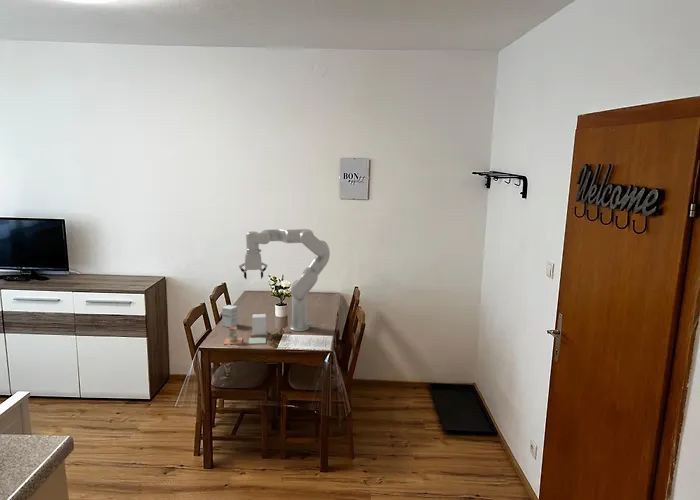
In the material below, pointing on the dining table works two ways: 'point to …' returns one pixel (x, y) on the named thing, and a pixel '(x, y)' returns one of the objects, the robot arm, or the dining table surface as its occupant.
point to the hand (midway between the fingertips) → (253, 278)
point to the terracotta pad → (227, 341)
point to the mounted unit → (259, 326)
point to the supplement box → (230, 316)
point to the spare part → (233, 334)
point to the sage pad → (257, 340)
